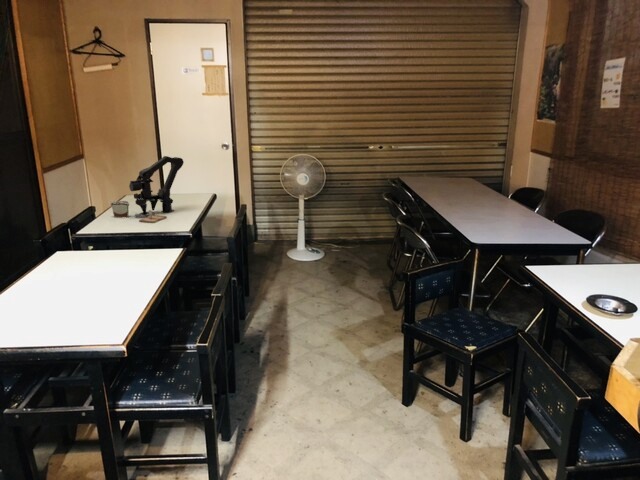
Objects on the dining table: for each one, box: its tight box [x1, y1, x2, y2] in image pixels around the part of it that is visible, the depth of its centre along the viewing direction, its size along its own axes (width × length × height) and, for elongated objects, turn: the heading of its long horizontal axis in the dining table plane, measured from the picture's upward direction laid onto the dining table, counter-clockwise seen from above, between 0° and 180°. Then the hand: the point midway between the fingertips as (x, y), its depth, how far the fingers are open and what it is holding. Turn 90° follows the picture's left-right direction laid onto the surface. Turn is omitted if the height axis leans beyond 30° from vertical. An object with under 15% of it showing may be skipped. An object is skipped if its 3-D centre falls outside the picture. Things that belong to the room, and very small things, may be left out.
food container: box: [110, 200, 130, 218], centre depth 332 cm, size 12×6×10 cm, turn 84°
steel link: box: [134, 210, 156, 219], centre depth 332 cm, size 10×8×2 cm
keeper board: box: [138, 209, 167, 224], centre depth 322 cm, size 14×11×7 cm
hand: (149, 212), depth 336 cm, fingers open, 9 cm apart
